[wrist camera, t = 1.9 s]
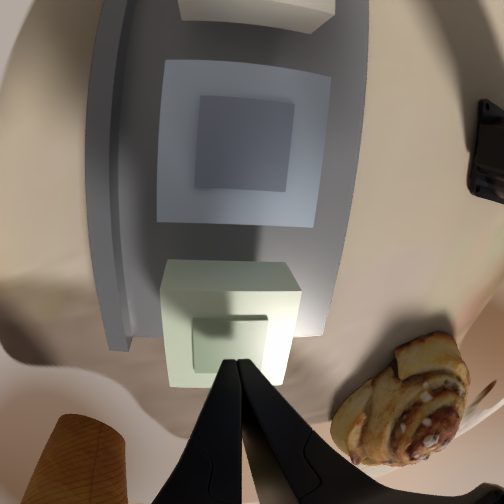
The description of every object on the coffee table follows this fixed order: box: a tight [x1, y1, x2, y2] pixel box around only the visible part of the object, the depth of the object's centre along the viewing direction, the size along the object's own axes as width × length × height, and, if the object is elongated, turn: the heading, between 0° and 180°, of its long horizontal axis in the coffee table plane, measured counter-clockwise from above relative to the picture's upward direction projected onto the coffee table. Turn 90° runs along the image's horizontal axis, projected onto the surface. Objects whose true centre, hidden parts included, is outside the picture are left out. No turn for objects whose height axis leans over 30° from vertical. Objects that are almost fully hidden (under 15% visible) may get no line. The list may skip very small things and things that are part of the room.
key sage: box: [160, 259, 302, 388], centre depth 11 cm, size 4×4×2 cm
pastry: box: [330, 332, 470, 467], centre depth 19 cm, size 13×15×8 cm
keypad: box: [85, 0, 369, 352], centre depth 11 cm, size 11×19×2 cm, turn 175°
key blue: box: [157, 60, 331, 228], centre depth 8 cm, size 4×4×2 cm
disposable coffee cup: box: [21, 414, 128, 504], centre depth 13 cm, size 10×10×12 cm
